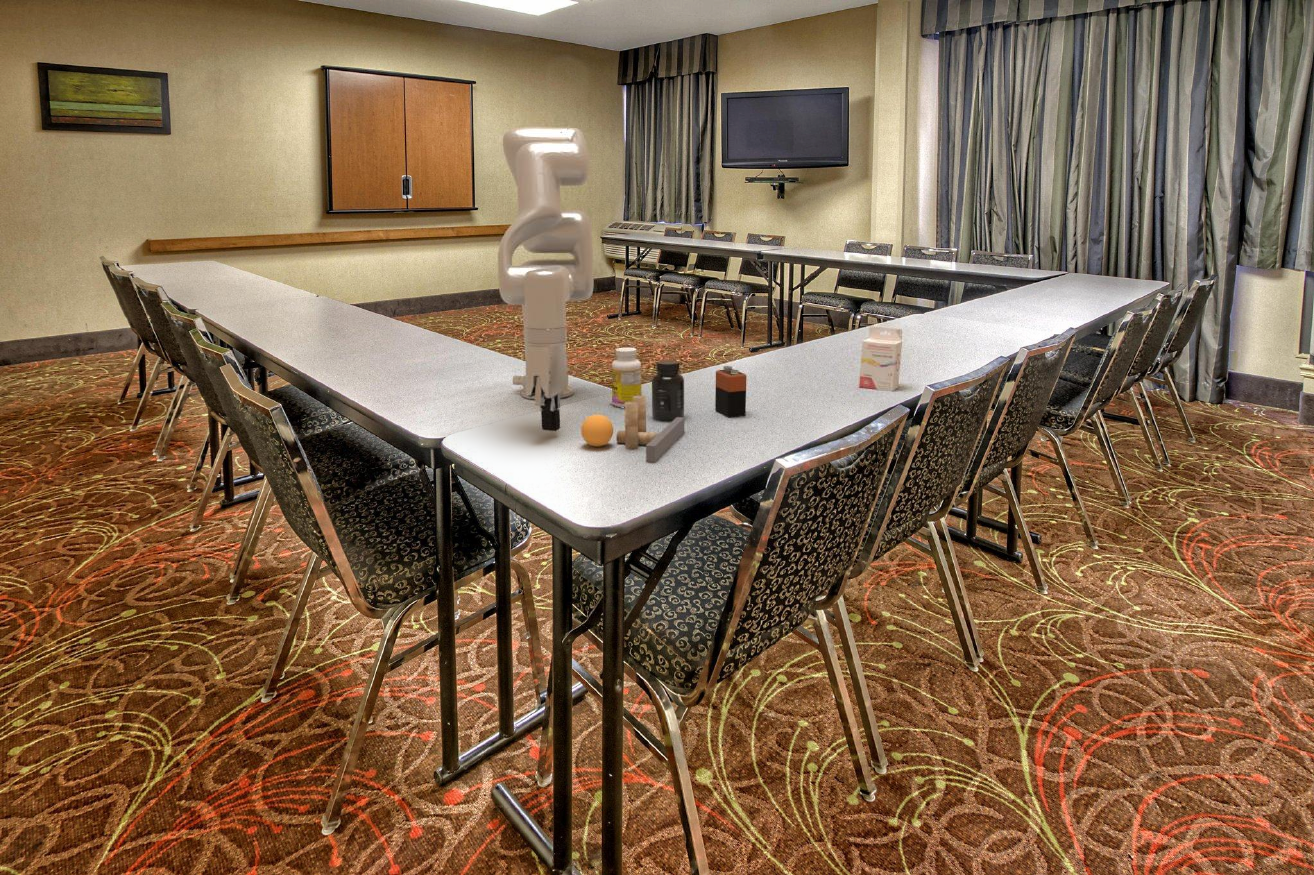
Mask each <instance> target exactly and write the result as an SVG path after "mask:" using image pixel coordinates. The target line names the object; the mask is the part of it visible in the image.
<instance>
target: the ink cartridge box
mask: <svg viewBox="0 0 1314 875" xmlns="http://www.w3.org/2000/svg"><path fill="white" fill-rule="evenodd" d="M868 332H869V333H868V334H869V337H868V338H866V339H863V340H862V345H861V346H862V347H861V357H860V358H861V359H860V371H859V385H858V387H859V388H863V389H869V390H870V389H871V390H877V391H883V392H884V391H886V392H894V391H895V390H897V389H898V388H899V382H900V381H899V380H900V372H901V371H900V369H901V361H902V360H901V359H902V348H903V347H902V346H903V341H902V338H903V336H902V335H903V329H902V328H899V327H898V328H897V327H888V326H874V325H871V326H870V327H869V331H868ZM883 332H887V333H891V334H883Z"/></svg>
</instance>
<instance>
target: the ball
mask: <svg viewBox="0 0 1314 875" xmlns="http://www.w3.org/2000/svg"><path fill="white" fill-rule="evenodd" d="M580 432H581V437H582V438H583V440H584V441H585V442H586V443H587V444H588V445H590V446H592V447H602V446H605V445H607V444H608V443H609V442H610V441H611V440H612V438H613V435H614V426H613V423H612V421H611V420H610V419H609V418H608V417H607V416H606V415H602V414H592V415H590V416H588V417H587V418H585V420H584V421H583V423H582V425H581V429H580Z"/></svg>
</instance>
